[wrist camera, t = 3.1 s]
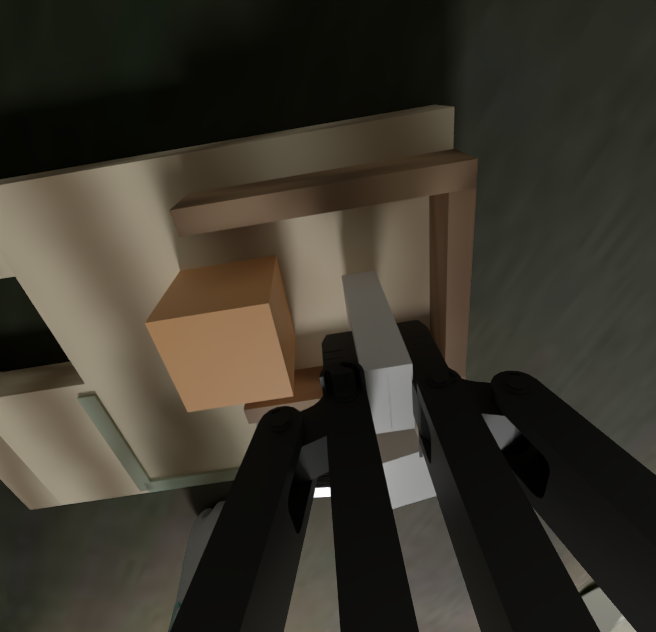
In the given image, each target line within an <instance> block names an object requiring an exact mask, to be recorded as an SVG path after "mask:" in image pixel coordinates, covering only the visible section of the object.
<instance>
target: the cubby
mask: <svg viewBox="0 0 656 632" xmlns="http://www.w3.org/2000/svg"><path fill="white" fill-rule="evenodd" d="M477 168H478V158H475V157H473V156H470V155H468V154H465V153H462V152H460V151H457V150H455V149H450V150H444V151H438V152H432V153H426V154H420V155H414V156H408V157H402V158H396V159H390V160H384V161H379V162H373V163H367V164H361V165H355V166H349V167H343V168H337V169H331V170H325V171H319V172H313V173H307V174H302V175H296V176H290V177H284V178H278V179H272V180H266V181H260V182H254V183H248V184H242V185H236V186H230V187H225V188H219V189H213V190H207V191H201V192H195V193H189V194H187V195H186V196H185V197H184V198H182V199H181V200H180V201H179V202H178V203H177V204H176V205H175V206H174V207H172V208H171V209H170V210H169V211H170V214H171V217H172V219H173V222H174V225H175V227H176V230H177V233H178V235H179V237H183V236H189V235H196V234H202V233H208V232H214V231H220V230H226V229H232V228H238V227H244V226H250V225H256V224H262V223H268V222H274V221H280V220H286V219H292V218H298V217H304V216H310V215H316V214H322V213H328V212H334V211H341V210H347V209H353V208H359V207H365V206H371V205H377V204H383V203H389V202H395V201H401V200H407V199H413V198H419V197H425V196H429V264H430V333H431V336H432V337H433V339H434V341H435V343H436V345H437V347H438V348H439V350H440V352H441V354H442V356H443V358H444V360H445V362H446V364H447V366H448V367H449V368H450V369H452V370H454V371H456V372H457V373H458V374H459V375H460V376H461V378H462V379H465V376H466V359H467V341H468V324H469V307H470V289H471V272H472V255H473V237H474V220H475V203H476V185H477ZM322 369H323V366H318V367H311V368H305V369H298V370H294V396H292V397H285V398H279V399H272V400H266V401H259V402H252V403H246V404H245V405H244V413H245V415H246V418H247V421H248V423H249V424H253V423H259V421H260V419H261V418H262V416H263V415H264V414H266V413H267V412H268V411H269V410H271V409H274V408H276V407H280V406H290V407H294V408H296V409H297V410H299V411H302V410H305V409H307V408H309V407H311V406H313V405H314V404H316V403H317V402H318V401H319V400H320V399H321V398H322V396H323V392H322V387H321V383H320V378H319V377H320V372H321V371H322Z"/></svg>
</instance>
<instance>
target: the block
mask: <svg viewBox="0 0 656 632" xmlns="http://www.w3.org/2000/svg"><path fill="white" fill-rule="evenodd" d="M376 436H377V441H378V445H379V450H380V455H381V459H382V464H383V468H384V473H385V478H386V482H387V487H388V492H389V496H390V501H391V505H392V509H394V508H397V507H400V506H404V505H407V504H410V503H414V502H417V501H420V500H424V499H427V498H430V497H434V496H437V495H436V492H435V489H434V486H433V483H432V480H431V477H430V474H429V471H428V468H427V465H426V462H425V459H424V456H423V457H420V458H419V434H418V427H417V424H416V421H415V428H413V429H406V430H399V431H392V432H386V433H379V434H376Z"/></svg>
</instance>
